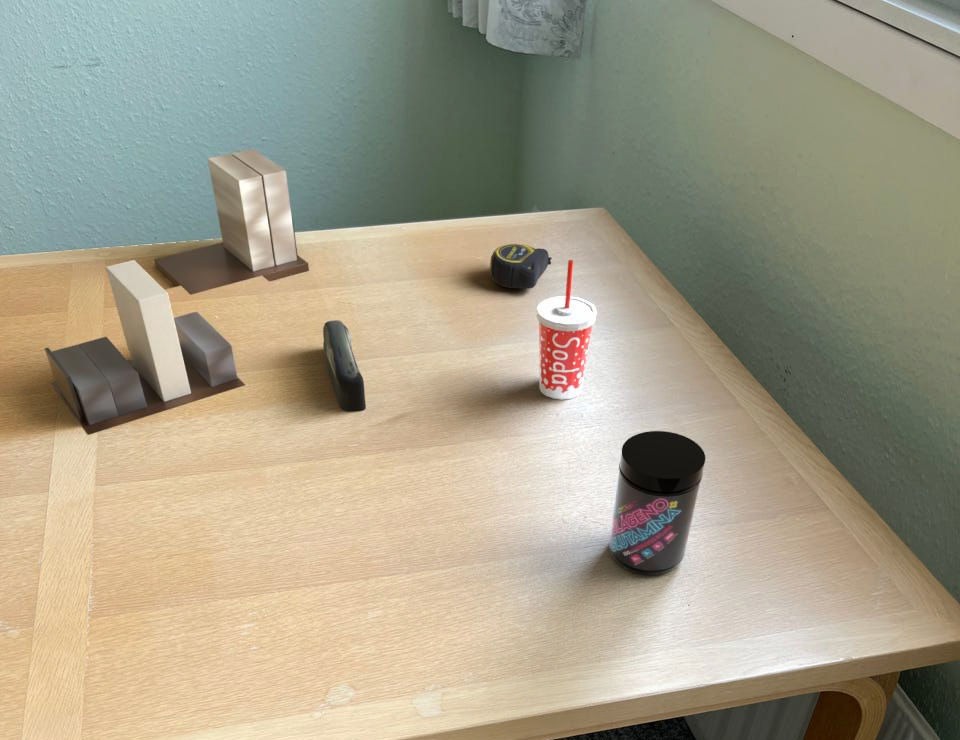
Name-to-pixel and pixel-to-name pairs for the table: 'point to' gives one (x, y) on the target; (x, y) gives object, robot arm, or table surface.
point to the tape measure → (518, 265)
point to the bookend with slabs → (242, 228)
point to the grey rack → (138, 376)
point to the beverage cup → (564, 342)
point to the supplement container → (655, 501)
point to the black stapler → (343, 367)
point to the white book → (149, 329)
